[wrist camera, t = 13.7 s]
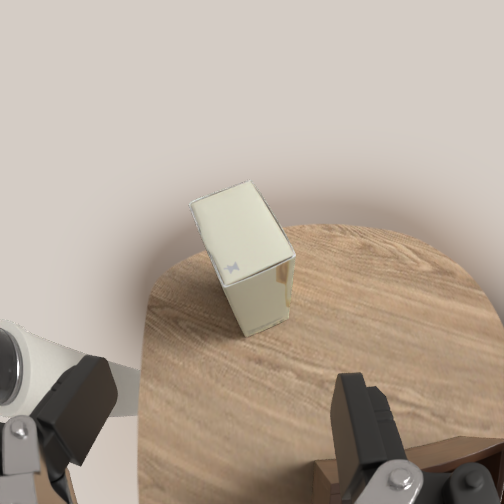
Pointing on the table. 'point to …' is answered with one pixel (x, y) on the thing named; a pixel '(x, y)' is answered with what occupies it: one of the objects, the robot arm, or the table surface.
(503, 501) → the lid
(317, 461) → the chest
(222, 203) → the cosmetic box
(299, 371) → the table surface
